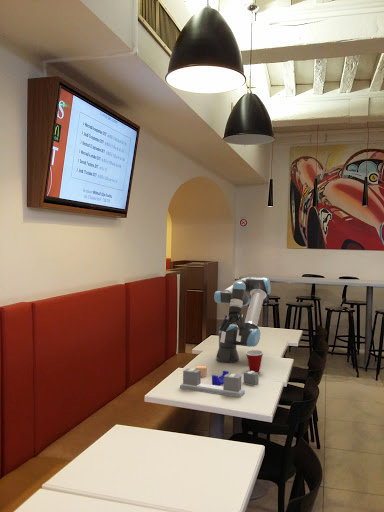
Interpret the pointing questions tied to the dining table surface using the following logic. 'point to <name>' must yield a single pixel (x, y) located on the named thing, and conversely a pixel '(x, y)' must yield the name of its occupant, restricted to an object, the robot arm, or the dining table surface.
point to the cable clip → (219, 379)
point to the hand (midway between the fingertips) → (230, 341)
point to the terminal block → (202, 370)
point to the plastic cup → (254, 360)
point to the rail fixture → (229, 388)
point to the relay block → (251, 377)
